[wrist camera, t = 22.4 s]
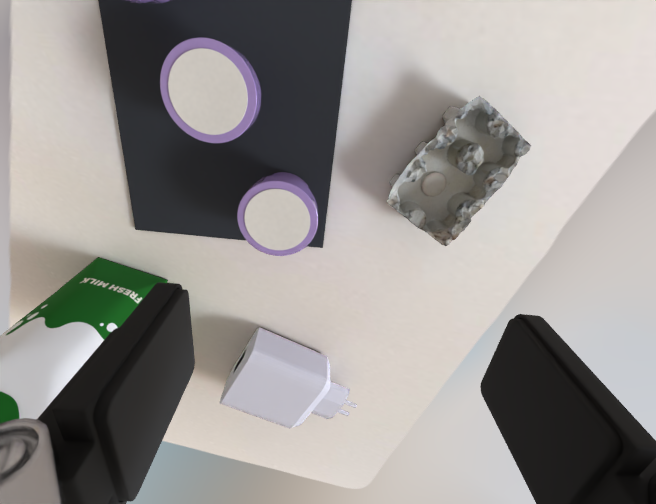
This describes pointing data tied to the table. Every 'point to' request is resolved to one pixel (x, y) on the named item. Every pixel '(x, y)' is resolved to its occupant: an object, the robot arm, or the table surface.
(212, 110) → the dish middle
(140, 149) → the placemat
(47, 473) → the robot arm
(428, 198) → the egg carton
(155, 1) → the purple short cylinder
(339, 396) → the charger
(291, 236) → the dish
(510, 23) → the table surface
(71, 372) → the milk carton
